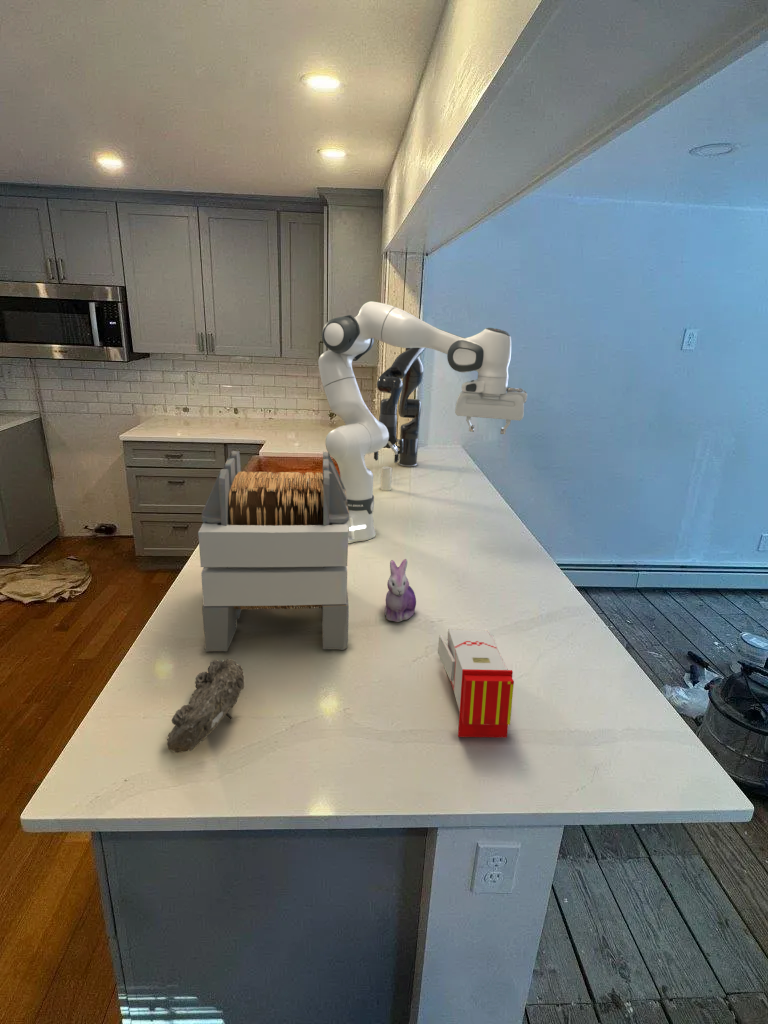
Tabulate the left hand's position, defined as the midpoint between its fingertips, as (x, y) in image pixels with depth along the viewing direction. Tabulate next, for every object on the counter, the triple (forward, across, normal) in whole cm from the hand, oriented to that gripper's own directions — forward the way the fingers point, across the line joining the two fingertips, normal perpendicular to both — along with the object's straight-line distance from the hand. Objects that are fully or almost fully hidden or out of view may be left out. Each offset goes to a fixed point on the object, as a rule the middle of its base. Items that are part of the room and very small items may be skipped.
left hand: (486, 432), depth 171 cm
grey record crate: (+41, +46, +52) cm, 81 cm away
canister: (+41, +41, -61) cm, 84 cm away
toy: (+41, -3, +72) cm, 82 cm away
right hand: (+28, +42, -61) cm, 79 cm away
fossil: (+41, +45, +92) cm, 110 cm away
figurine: (+41, +17, +44) cm, 62 cm away
